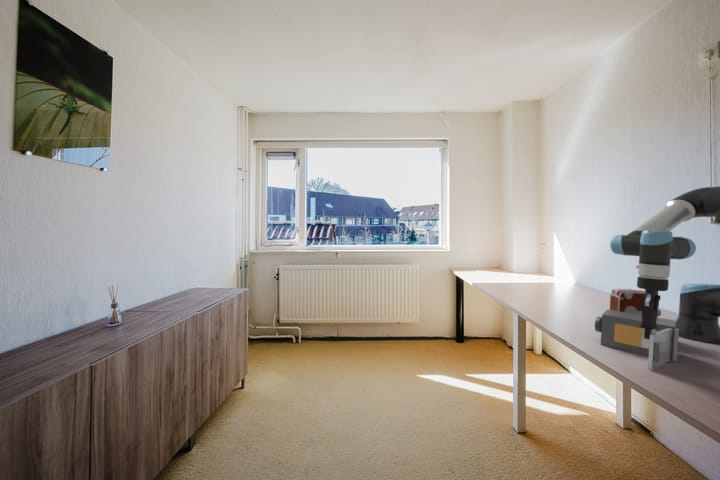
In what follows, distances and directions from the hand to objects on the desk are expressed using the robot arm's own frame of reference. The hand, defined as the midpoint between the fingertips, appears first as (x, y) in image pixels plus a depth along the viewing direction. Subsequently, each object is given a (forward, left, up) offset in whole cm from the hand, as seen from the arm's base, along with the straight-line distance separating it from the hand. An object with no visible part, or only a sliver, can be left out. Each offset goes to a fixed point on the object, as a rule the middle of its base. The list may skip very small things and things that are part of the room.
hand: (647, 347), depth 104 cm
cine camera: (-23, -30, -6) cm, 38 cm away
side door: (-5, 0, -6) cm, 8 cm away
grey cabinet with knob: (-10, -16, -6) cm, 19 cm away
